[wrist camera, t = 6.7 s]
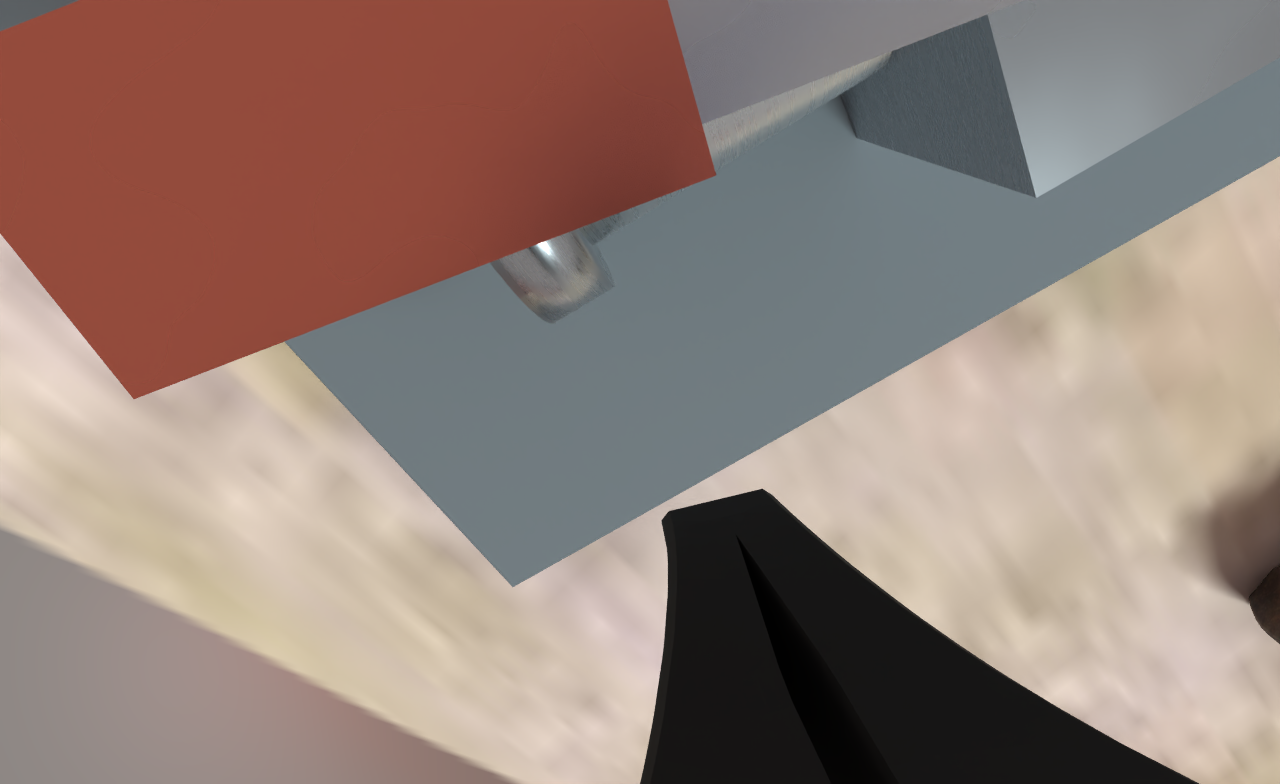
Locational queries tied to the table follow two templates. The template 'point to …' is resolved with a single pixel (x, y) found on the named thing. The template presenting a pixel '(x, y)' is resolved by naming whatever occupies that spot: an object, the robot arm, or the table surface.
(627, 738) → the table surface
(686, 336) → the mounting plate
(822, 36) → the valve lever
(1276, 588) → the bolt
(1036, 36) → the valve manifold
